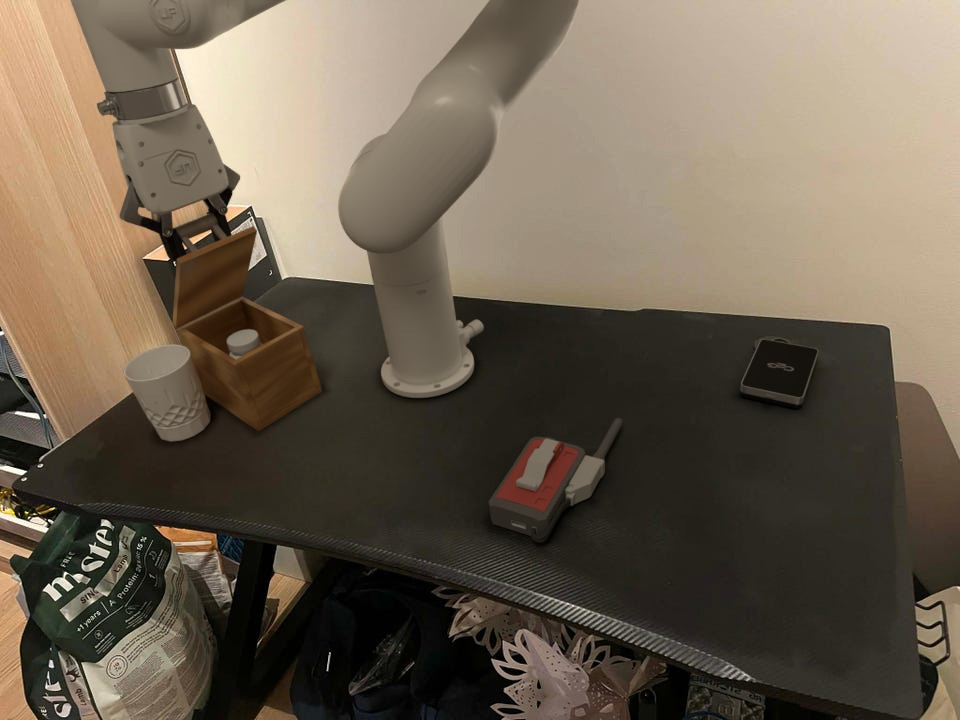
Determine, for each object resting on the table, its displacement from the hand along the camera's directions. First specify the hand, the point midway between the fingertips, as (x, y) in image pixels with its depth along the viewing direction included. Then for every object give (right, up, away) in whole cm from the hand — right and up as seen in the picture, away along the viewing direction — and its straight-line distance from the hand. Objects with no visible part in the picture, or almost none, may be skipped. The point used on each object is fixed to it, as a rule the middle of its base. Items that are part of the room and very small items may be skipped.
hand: (202, 252), depth 87 cm
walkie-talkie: (+43, -26, -10) cm, 51 cm away
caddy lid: (+1, -3, +2) cm, 4 cm away
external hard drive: (+70, -16, 0) cm, 72 cm away
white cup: (-4, -22, +5) cm, 23 cm away
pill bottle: (+4, -17, +9) cm, 20 cm away
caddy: (+4, -18, +10) cm, 20 cm away
